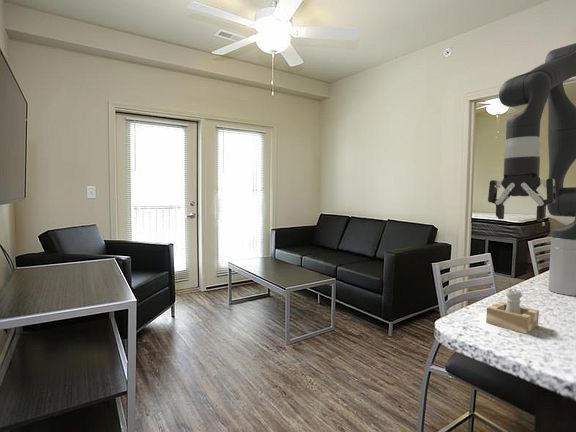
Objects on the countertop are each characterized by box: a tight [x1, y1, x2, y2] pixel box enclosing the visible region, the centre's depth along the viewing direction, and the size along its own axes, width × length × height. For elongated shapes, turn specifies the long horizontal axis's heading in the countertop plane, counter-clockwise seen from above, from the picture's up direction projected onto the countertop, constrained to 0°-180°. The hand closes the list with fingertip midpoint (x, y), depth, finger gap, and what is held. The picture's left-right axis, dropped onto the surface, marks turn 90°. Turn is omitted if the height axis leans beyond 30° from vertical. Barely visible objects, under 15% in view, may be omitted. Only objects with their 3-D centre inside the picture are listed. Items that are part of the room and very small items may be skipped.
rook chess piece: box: [505, 288, 523, 314], centre depth 78 cm, size 4×4×8 cm
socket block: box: [485, 301, 540, 334], centre depth 78 cm, size 8×8×4 cm
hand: (519, 219), depth 87 cm, fingers open, 8 cm apart
